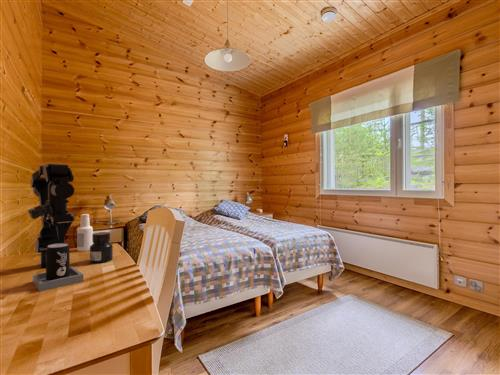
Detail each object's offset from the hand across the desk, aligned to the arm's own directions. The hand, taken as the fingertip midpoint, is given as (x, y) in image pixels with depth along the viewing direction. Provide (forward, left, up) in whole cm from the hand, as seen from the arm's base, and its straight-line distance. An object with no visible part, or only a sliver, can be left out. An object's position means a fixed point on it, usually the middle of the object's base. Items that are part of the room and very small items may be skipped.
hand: (57, 238), depth 99 cm
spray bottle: (-32, +18, -13) cm, 39 cm away
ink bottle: (-6, +17, -13) cm, 22 cm away
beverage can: (+10, -2, -13) cm, 16 cm away
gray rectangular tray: (+10, -2, -13) cm, 17 cm away
